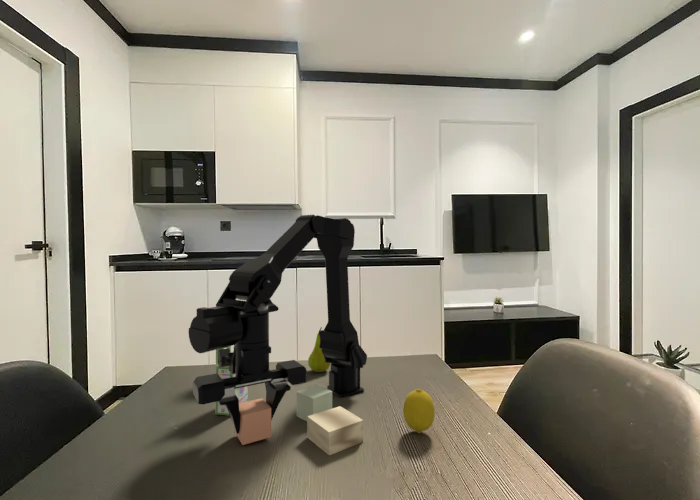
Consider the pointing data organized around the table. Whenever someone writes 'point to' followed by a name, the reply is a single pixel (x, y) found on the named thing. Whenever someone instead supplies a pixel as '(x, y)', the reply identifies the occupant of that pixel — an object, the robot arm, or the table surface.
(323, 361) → the fruit
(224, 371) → the ink box
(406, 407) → the lemon
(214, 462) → the table surface
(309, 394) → the sage cube
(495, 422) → the table surface
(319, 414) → the maple base
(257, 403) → the terracotta cube
